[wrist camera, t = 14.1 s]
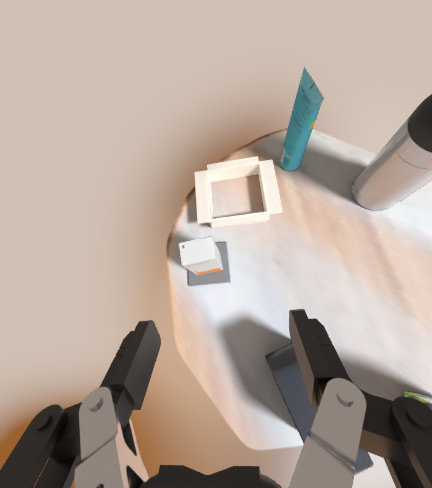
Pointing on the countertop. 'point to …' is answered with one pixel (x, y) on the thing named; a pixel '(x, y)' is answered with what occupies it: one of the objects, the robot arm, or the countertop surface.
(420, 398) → the syrup box
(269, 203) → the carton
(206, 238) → the skincare box
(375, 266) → the countertop surface
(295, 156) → the tube
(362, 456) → the small box
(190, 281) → the coaster
